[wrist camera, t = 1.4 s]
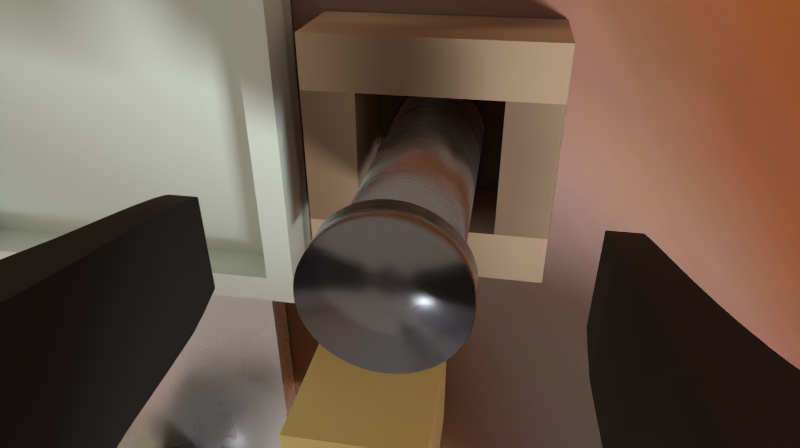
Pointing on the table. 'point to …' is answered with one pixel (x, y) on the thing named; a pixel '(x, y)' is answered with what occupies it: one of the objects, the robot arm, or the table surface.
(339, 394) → the pale yellow cube
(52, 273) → the robot arm
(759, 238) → the table surface
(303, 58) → the socket
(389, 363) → the pin
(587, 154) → the table surface
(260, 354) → the trolley wheel
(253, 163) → the tray
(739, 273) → the table surface
